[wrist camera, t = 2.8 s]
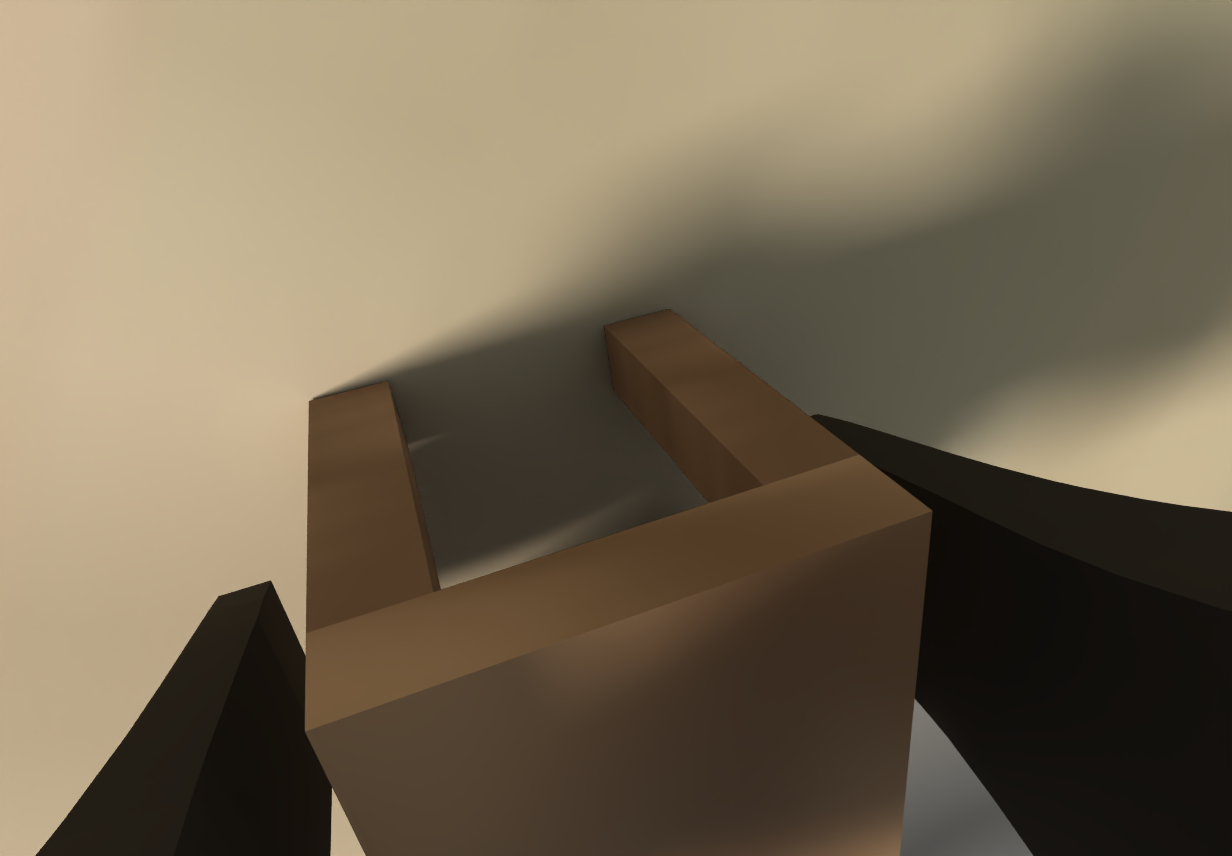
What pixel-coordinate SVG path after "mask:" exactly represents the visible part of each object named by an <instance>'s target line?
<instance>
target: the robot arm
mask: <svg viewBox="0 0 1232 856" xmlns="http://www.w3.org/2000/svg"><path fill="white" fill-rule="evenodd" d="M810 417H811V418H812V419H814V420H815V421H816V422H818V423H819V424H820V425H822V426H823V427H824V428H825V429H827V430H828V431H829V432H831V433H832V434H833V435H835V436H836V437H837V438H838V439H840V440H841V441H842V442H844V443H845V444H846V445H848V446H849V447H850V448H851V449H853V450H854V451H855V452H857V453H858V454H859V455H861V456H862V457H863V458H864V459H866V460H867V461H868V462H870V463H871V464H872V465H874V466H875V467H876V468H878V469H879V470H880V471H881V472H883V473H884V474H885V475H887V476H888V477H889V478H891V479H892V480H893V481H894V482H896V483H897V484H898V485H900V486H901V487H902V488H904V489H905V490H906V491H907V492H909V493H910V494H911V495H913V496H914V497H915V498H917V499H918V500H919V501H920V502H922V503H923V504H924V505H926V506H927V507H928V508H930V509H931V510H932V511H933V512H932V522H931V533H930V543H929V554H928V564H927V575H926V585H925V595H924V606H923V616H922V627H921V637H920V648H919V658H918V669H917V679H916V690H915V700H916V701H917V702H918V703H919V704H920V705H921V706H922V708H923V709H924V710H925V711H926V712H927V713H928V715H929V716H930V717H931V718H932V719H933V721H934V722H935V723H936V724H937V725H938V727H939V728H940V729H941V730H942V731H943V732H944V734H945V735H946V736H947V737H948V739H949V740H950V741H951V743H952V744H953V745H954V747H955V748H956V749H957V751H958V752H959V753H960V755H961V756H962V757H963V759H964V760H965V762H966V763H967V764H968V766H969V767H970V768H971V770H972V771H973V772H974V774H975V775H976V776H977V778H978V779H979V780H980V782H981V783H982V784H983V786H984V787H985V788H986V790H987V791H988V792H989V794H990V795H991V796H992V798H993V799H994V801H995V802H996V803H997V805H998V806H999V808H1000V809H1001V811H1002V812H1003V813H1004V815H1005V816H1006V818H1007V819H1008V821H1009V822H1010V823H1011V825H1012V826H1013V828H1014V829H1015V830H1016V832H1017V833H1018V835H1019V836H1020V838H1021V839H1022V840H1023V842H1024V843H1025V845H1026V846H1027V848H1028V849H1029V850H1030V852H1031V853H1032V855H1033V856H1232V512H1228V511H1221V510H1213V509H1205V508H1198V507H1190V506H1182V505H1176V504H1170V503H1163V502H1157V501H1151V500H1145V499H1139V498H1134V497H1129V496H1124V495H1118V494H1113V493H1108V492H1103V491H1098V490H1092V489H1087V488H1082V487H1078V486H1073V485H1069V484H1064V483H1060V482H1055V481H1051V480H1047V479H1043V478H1039V477H1035V476H1031V475H1028V474H1024V473H1020V472H1016V471H1012V470H1008V469H1004V468H1000V467H997V466H993V465H990V464H986V463H982V462H979V461H975V460H972V459H968V458H965V457H962V456H958V455H955V454H952V453H948V452H945V451H942V450H938V449H935V448H932V447H929V446H925V445H922V444H919V443H916V442H913V441H909V440H906V439H903V438H900V437H897V436H893V435H890V434H887V433H884V432H881V431H877V430H874V429H871V428H868V427H864V426H861V425H857V424H854V423H851V422H847V421H843V420H840V419H836V418H832V417H827V416H823V415H818V414H817V415H813V416H810ZM305 679H306V656H305V654H304V652H303V649H302V647H301V645H300V643H299V641H298V638H297V636H296V634H295V632H294V630H293V628H292V625H291V623H290V621H289V619H288V617H287V614H286V612H285V610H284V608H283V606H282V604H281V601H280V599H279V597H278V595H277V593H276V590H275V588H274V586H273V584H272V582H271V581H268V582H264V583H261V584H258V585H254V586H251V587H248V588H244V589H241V590H238V591H235V592H231V593H228V594H225V595H221V596H218V598H217V599H216V601H215V602H214V604H213V605H212V607H211V608H210V610H209V611H208V613H207V614H206V616H205V617H204V619H203V620H202V622H201V623H200V625H199V627H198V628H197V630H196V631H195V633H194V634H193V636H192V637H191V639H190V640H189V642H188V643H187V645H186V646H185V648H184V650H183V651H182V653H181V654H180V656H179V657H178V659H177V660H176V662H175V663H174V665H173V667H172V668H171V670H170V671H169V673H168V674H167V676H166V677H165V679H164V680H163V682H162V683H161V685H160V687H159V688H158V690H157V691H156V693H155V694H154V696H153V697H152V698H151V700H150V701H149V703H148V704H147V706H146V707H145V709H144V710H143V712H142V713H141V715H140V716H139V718H138V719H137V721H136V722H135V724H134V725H133V727H132V728H131V730H130V731H129V732H128V734H127V735H126V737H125V738H124V740H123V741H122V742H121V744H120V745H119V746H118V748H117V749H116V750H115V752H114V753H113V754H112V756H111V757H110V758H109V760H108V761H107V763H106V764H105V765H104V767H103V768H102V769H101V771H100V772H99V773H98V775H97V776H96V777H95V779H94V780H93V781H92V783H91V784H90V786H89V787H88V788H87V790H86V791H85V792H84V794H83V795H82V796H81V798H80V799H79V800H78V802H77V803H76V804H75V806H74V807H73V809H72V810H71V811H70V813H69V814H68V815H67V817H66V818H65V819H64V821H63V822H62V823H61V824H60V826H59V827H58V828H57V829H56V831H55V832H54V833H53V835H52V836H51V837H50V838H49V840H48V841H47V842H46V843H45V845H44V846H43V847H42V848H41V849H40V851H39V852H38V853H37V854H36V856H330V850H331V807H332V786H331V784H330V782H329V780H328V778H327V776H326V774H325V771H324V769H323V767H322V765H321V763H320V761H319V759H318V757H317V755H316V753H315V751H314V749H313V747H312V745H311V743H310V741H309V739H308V737H307V735H306V733H305Z"/></svg>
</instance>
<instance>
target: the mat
mask: <svg viewBox="0 0 1232 856" xmlns="http://www.w3.org/2000/svg"><path fill="white" fill-rule="evenodd" d="M900 856H1033V855H1032V853H1031V852H1030V850H1029V849H1028V848H1027V846H1026V845H1025V843H1024V842H1023V840H1022V839H1021V838H1020V836H1019V835H1018V833H1017V832H1016V830H1015V829H1014V828H1013V826H1012V825H1011V823H1010V822H1009V821H1008V819H1007V818H1006V816H1005V815H1004V813H1003V812H1002V811H1001V809H1000V808H999V806H998V805H997V803H996V802H995V801H994V799H993V798H992V796H991V795H990V794H989V792H988V791H987V790H986V788H985V787H984V786H983V784H982V783H981V782H980V780H979V779H978V778H977V776H976V775H975V774H974V772H973V771H972V770H971V768H970V767H969V766H968V764H967V763H966V762H965V760H964V759H963V757H962V756H961V755H960V753H959V752H958V751H957V749H956V748H955V747H954V745H953V744H952V743H951V741H950V740H949V739H948V737H947V736H946V735H945V734H944V732H943V731H942V730H941V729H940V728H939V727H938V725H937V724H936V723H935V722H934V721H933V719H932V718H931V717H930V716H929V715H928V713H927V712H926V711H925V710H924V709H923V708H922V706H921V705H920V704H919V703H918V702H917V701H916V700H914V711H913V721H912V732H911V742H910V753H909V763H908V773H907V784H906V794H905V805H904V815H903V826H902V836H901V847H900Z"/></svg>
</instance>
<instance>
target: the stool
mask: <svg viewBox="0 0 1232 856" xmlns="http://www.w3.org/2000/svg"><path fill="white" fill-rule="evenodd" d="M604 329H605V336H606V343H607V350H608V357H609V363H610V370H611V377H612V384H613V390H614V391H615V392H616V393H617V394H618V396H619V397H620V398H621V399H622V400H623V402H624V403H625V404H626V405H627V406H628V407H629V409H630V410H631V411H632V412H633V413H634V415H635V416H636V417H637V418H638V419H639V420H640V422H641V423H642V424H643V425H644V426H645V428H646V429H647V430H648V431H649V432H650V433H651V435H652V436H653V437H654V438H655V439H656V441H657V442H658V443H659V444H660V445H661V446H662V448H663V449H664V450H665V451H666V452H667V454H668V455H669V456H670V457H671V458H672V459H673V461H674V462H675V463H676V464H677V465H678V467H679V468H680V469H681V470H682V471H683V472H684V474H685V475H686V476H687V477H688V478H689V480H690V481H691V482H692V483H693V484H694V485H695V487H696V488H697V489H698V490H699V491H700V493H701V494H702V495H703V496H704V497H705V498H706V500H707V501H708V502H709V503H708V504H705V505H702V506H699V507H696V508H693V509H690V510H686V511H683V512H680V513H677V514H674V515H671V516H668V517H665V518H662V519H659V520H655V521H652V522H649V523H646V524H643V525H640V526H637V527H634V528H631V529H628V530H624V531H621V532H618V533H615V534H612V535H609V536H606V537H603V538H600V539H597V540H594V541H590V542H587V543H584V544H581V545H578V546H575V547H572V548H569V549H566V550H563V551H559V552H556V553H553V554H550V555H547V556H544V557H541V558H538V559H535V560H532V561H528V562H525V563H522V564H519V565H516V566H513V567H510V568H507V569H504V570H501V571H497V572H494V573H491V574H488V575H485V576H482V577H479V578H476V579H473V580H470V581H467V582H463V583H460V584H457V585H454V586H451V587H448V588H445V589H442V590H441V588H440V584H439V579H438V575H437V571H436V566H435V562H434V558H433V553H432V549H431V545H430V540H429V536H428V532H427V527H426V523H425V519H424V514H423V510H422V505H421V501H420V497H419V492H418V488H417V484H416V479H415V475H414V471H413V466H412V462H411V458H410V453H409V449H408V445H407V442H406V438H405V435H404V432H403V429H402V425H401V422H400V419H399V416H398V412H397V409H396V406H395V403H394V399H393V396H392V393H391V390H390V386H389V383H388V381H386V382H382V383H378V384H374V385H370V386H366V387H362V388H358V389H354V390H350V391H346V392H342V393H339V394H335V395H331V396H327V397H323V398H319V399H315V400H311V401H309V435H308V516H307V597H306V679H305V733H306V735H307V737H308V739H309V741H310V743H311V745H312V747H313V749H314V751H315V753H316V755H317V757H318V759H319V761H320V763H321V765H322V767H323V769H324V771H325V774H326V776H327V778H328V780H329V782H330V784H331V786H332V788H333V790H334V792H335V794H336V796H337V798H338V800H339V802H340V804H341V806H342V808H343V810H344V812H345V814H346V816H347V818H348V820H349V822H350V824H351V826H352V828H353V830H354V832H355V835H356V837H357V839H358V841H359V843H360V845H361V847H362V849H363V851H364V853H365V855H366V856H900V847H901V836H902V826H903V815H904V805H905V794H906V784H907V773H908V763H909V753H910V742H911V732H912V721H913V711H914V700H915V690H916V679H917V669H918V658H919V648H920V637H921V627H922V616H923V606H924V595H925V585H926V575H927V564H928V554H929V543H930V533H931V522H932V512H933V511H932V510H931V509H930V508H928V507H927V506H926V505H924V504H923V503H922V502H920V501H919V500H918V499H917V498H915V497H914V496H913V495H911V494H910V493H909V492H907V491H906V490H905V489H904V488H902V487H901V486H900V485H898V484H897V483H896V482H894V481H893V480H892V479H891V478H889V477H888V476H887V475H885V474H884V473H883V472H881V471H880V470H879V469H878V468H876V467H875V466H874V465H872V464H871V463H870V462H868V461H867V460H866V459H864V458H863V457H862V456H861V455H859V454H858V453H857V452H855V451H854V450H853V449H851V448H850V447H849V446H848V445H846V444H845V443H844V442H842V441H841V440H840V439H838V438H837V437H836V436H835V435H833V434H832V433H831V432H829V431H828V430H827V429H825V428H824V427H823V426H822V425H820V424H819V423H818V422H816V421H815V420H814V419H812V418H811V417H810V416H809V415H807V414H806V413H805V412H803V411H802V410H801V409H799V408H798V407H797V406H796V405H794V404H793V403H792V402H790V401H789V400H788V399H786V398H785V397H784V396H783V395H781V394H780V393H779V392H777V391H776V390H775V389H773V388H772V387H771V386H769V385H768V384H767V383H766V382H764V381H763V380H762V379H760V378H759V377H758V376H756V375H755V374H754V373H753V372H751V371H750V370H749V369H747V368H746V367H745V366H743V365H742V364H741V363H740V362H738V361H737V360H736V359H734V358H733V357H732V356H730V355H729V354H728V353H727V352H725V351H724V350H723V349H721V348H720V347H719V346H717V345H716V344H715V343H714V342H712V341H711V340H710V339H708V338H707V337H706V336H704V335H703V334H702V333H701V332H699V331H698V330H697V329H695V328H694V327H693V326H691V325H690V324H689V323H687V322H686V321H685V320H684V319H682V318H681V317H680V316H678V315H677V314H676V313H674V312H673V311H672V310H671V309H668V310H664V311H660V312H656V313H652V314H649V315H645V316H641V317H637V318H633V319H629V320H625V321H621V322H617V323H613V324H609V325H605V326H604Z"/></svg>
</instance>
